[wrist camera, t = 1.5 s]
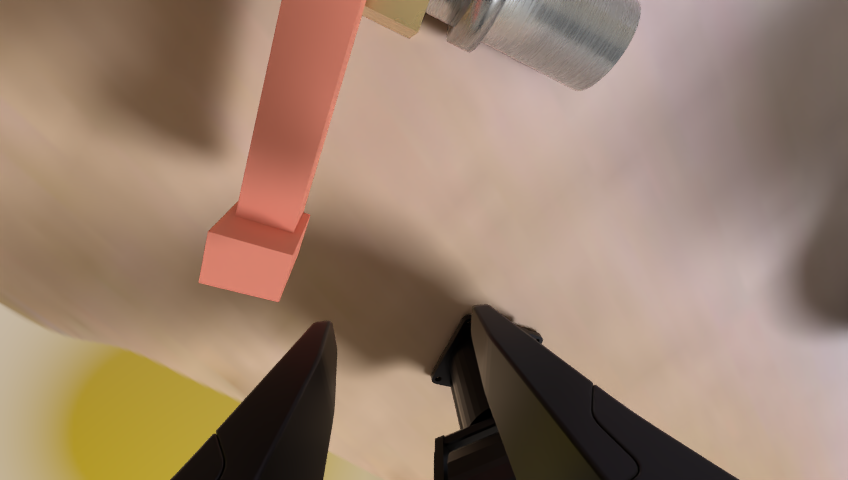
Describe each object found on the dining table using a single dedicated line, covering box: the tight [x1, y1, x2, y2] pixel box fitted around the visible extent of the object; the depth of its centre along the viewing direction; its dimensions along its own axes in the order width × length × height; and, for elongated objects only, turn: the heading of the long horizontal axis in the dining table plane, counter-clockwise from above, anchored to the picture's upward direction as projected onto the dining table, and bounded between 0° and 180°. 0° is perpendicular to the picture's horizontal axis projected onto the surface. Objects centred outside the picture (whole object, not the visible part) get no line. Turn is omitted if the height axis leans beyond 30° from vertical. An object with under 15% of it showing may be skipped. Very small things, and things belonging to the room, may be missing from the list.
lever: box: [199, 0, 366, 302], centre depth 11 cm, size 15×4×4 cm, turn 157°
